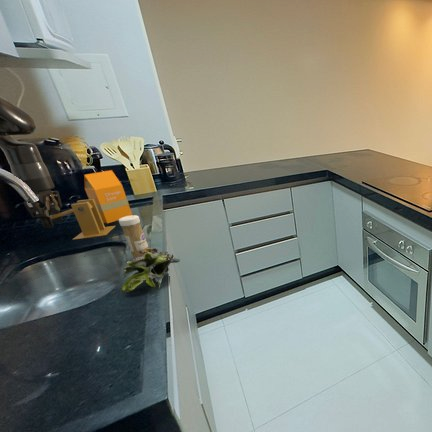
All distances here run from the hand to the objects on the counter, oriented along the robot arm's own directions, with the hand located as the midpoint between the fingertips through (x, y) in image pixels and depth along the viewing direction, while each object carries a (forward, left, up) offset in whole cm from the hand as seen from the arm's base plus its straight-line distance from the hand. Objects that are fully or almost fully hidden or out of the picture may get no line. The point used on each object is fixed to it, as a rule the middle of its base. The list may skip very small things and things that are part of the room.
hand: (54, 224), depth 101 cm
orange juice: (+11, +15, -6) cm, 19 cm away
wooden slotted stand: (+10, 0, -6) cm, 11 cm away
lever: (+5, 0, +3) cm, 6 cm away
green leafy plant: (+39, -46, -6) cm, 61 cm away
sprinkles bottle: (+31, -28, -6) cm, 42 cm away
